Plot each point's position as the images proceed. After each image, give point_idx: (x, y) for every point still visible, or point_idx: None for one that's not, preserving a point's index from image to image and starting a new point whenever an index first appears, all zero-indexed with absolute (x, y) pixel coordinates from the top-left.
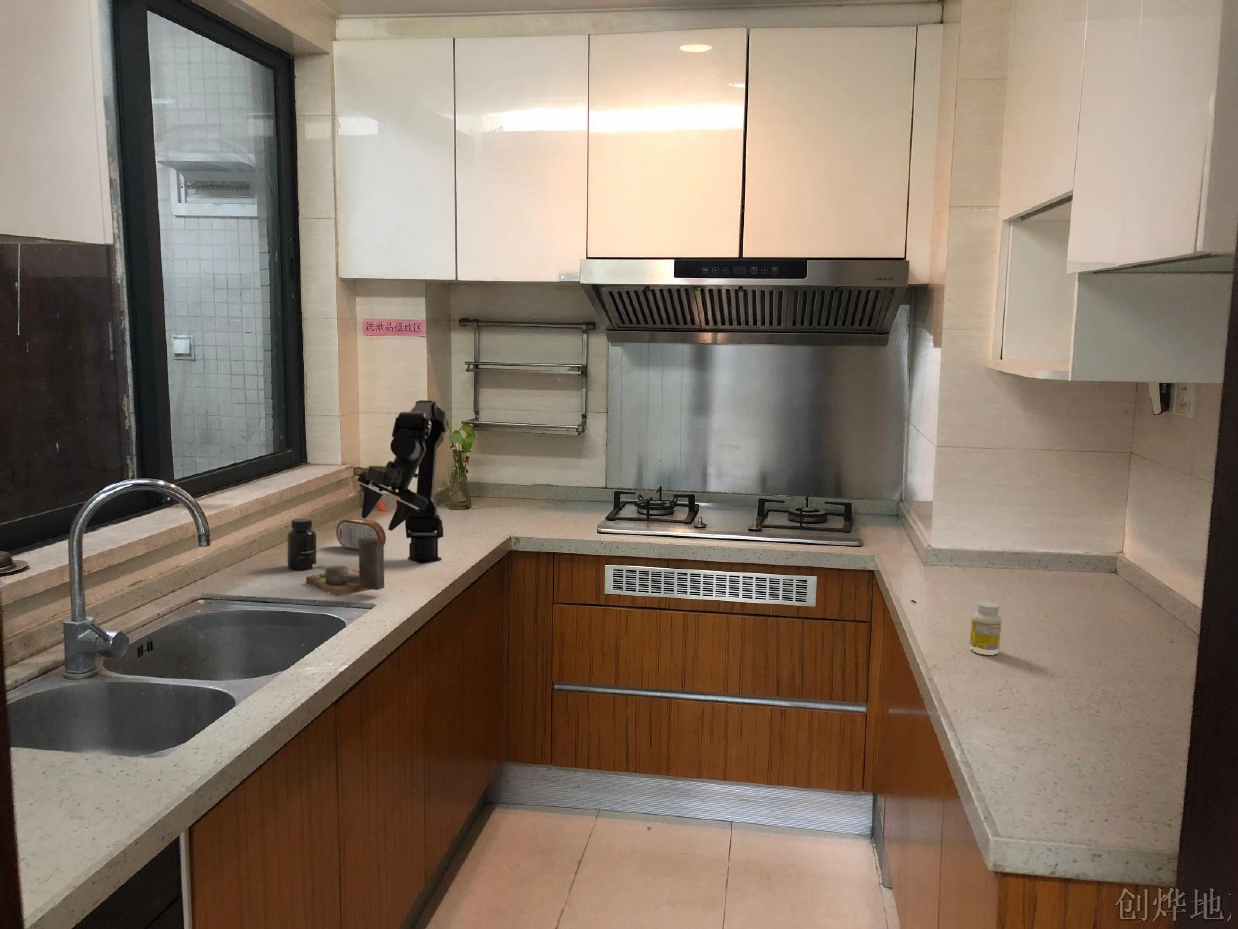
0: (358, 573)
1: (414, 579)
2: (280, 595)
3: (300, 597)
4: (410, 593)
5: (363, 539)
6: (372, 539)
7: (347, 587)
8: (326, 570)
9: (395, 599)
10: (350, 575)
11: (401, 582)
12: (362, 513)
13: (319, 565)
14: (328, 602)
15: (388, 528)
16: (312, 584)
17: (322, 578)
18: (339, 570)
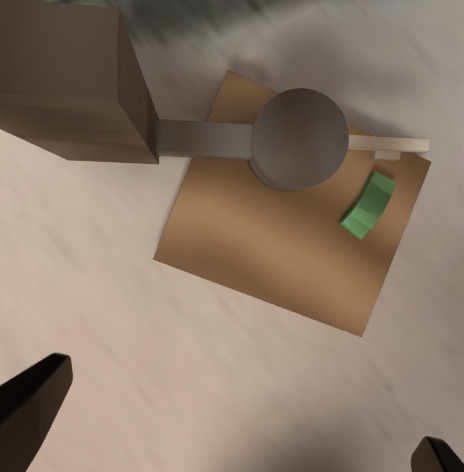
0: (298, 290)
1: (118, 390)
2: (393, 7)
3: (321, 16)
4: (10, 233)
5: (73, 14)
6: (4, 49)
7: (209, 115)
8: (321, 93)
9: (9, 143)
10: (220, 134)
11: (134, 334)
12: (460, 469)
13: (398, 146)
14: (198, 6)
15: (60, 357)
16: None
17: (367, 171)
18: (270, 116)
